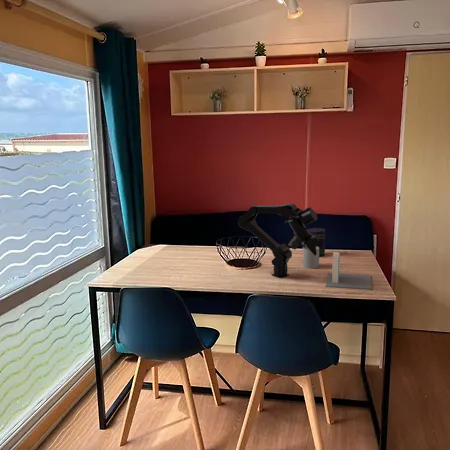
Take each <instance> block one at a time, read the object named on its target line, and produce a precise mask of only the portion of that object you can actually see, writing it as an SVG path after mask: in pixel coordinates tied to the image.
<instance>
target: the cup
mask: <svg viewBox="0 0 450 450" xmlns="http://www.w3.org/2000/svg"><path fill="white" fill-rule="evenodd" d="M316 253H317V255H313V254H312V252H311V251H310V250H309V249H308V248H305V247H303V246H302V267H303V268H305V269H310V270H311V269H317V268H318V269H319V267H320V257H319V247H316Z"/></svg>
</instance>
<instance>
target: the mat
mask: <svg viewBox="0 0 450 450" xmlns="http://www.w3.org/2000/svg"><path fill="white" fill-rule="evenodd" d="M371 277H372V275H371V274H356V273H340V272H339V283H332V272H328V273H327V277H326V282H325V283H326V284H325V287H326V288H338V289H340V288H341V289H356V290H369V291H370V290H373V285H372V278H371Z"/></svg>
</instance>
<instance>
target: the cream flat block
mask: <svg viewBox="0 0 450 450" xmlns="http://www.w3.org/2000/svg"><path fill="white" fill-rule="evenodd" d="M332 253H333V254H332V265H331V266H332V267H331V268H332V270H331V271H332V272H331V273H332V283H339V273H340V272H341V271H340V267H341V266H340V263H341V261H340V259H341V253H340V252H338V251H336V252H335V251H334V252H332Z"/></svg>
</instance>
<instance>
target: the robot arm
mask: <svg viewBox="0 0 450 450" xmlns="http://www.w3.org/2000/svg"><path fill="white" fill-rule="evenodd" d="M259 214H260V215H261V214H266V215H270V214H271V215H278V216H281V217H285V221H284V225H288V224H289V226H290V228H291V229H292V230H293V235H294V236H293V237H292V239H291V240H290V241H289V243H288V244H286V243H282V244H280V243H278V242H277V241H276V240H275V239H274V238H272V236H270V235H269V234H268V233H267V232H266V231H264V230H263V229H262V228H261V227H260V226H259V225H258V223H257V221H256V218H257V216H258V215H259ZM317 220H318V215H317V213H316V212H315V210H314V209H312V207H311V206H309V207H307V208H305V209H301V208H299V207H297V205H296V204H295V203H292V202H291V203H285V204H281V205H280V204H279V205H272V204H271V205H268V204H267V205H265V204H264V205H263V204H261V205H260V204H255V205H252V206H250V207H249V209H248V210H247V211H246V212H244V213H243V214H242V215H241V216H239V217H238V218H237V225H238V226H239V227H240V228H241V229H243V230H245V231H248V232H250V233H252V235H253V236H254V237H256V238H257V240H258V239H259V241H260V242H262V243H263V244H264V245H265V246H266V247H267V248H268V249H269V250H270V251H271V253H272V255H273V257H274V258H273V259H272V260H271V261H270V262H271V264H272V266H273V273H271V276H273V277H277V278H280V279H282V278H286V277H289V276H290V274H289V273H288V262H289V260H290V259H291V258H292V256H293V251H292V250H297V248H298V246H299V245H301V247H302V248H303V247H305V248H308V249H309V250H310V251H311V252H312V254H313V255H317V253H316V243H318V242H319V240H318V238H316V237H313V236H312V235H311V234H309V232H308V227H307V225H309V224H312V223H314V222H315V221H317ZM311 236H312V237H311ZM310 237H311V238H310ZM291 249H292V250H291Z"/></svg>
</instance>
